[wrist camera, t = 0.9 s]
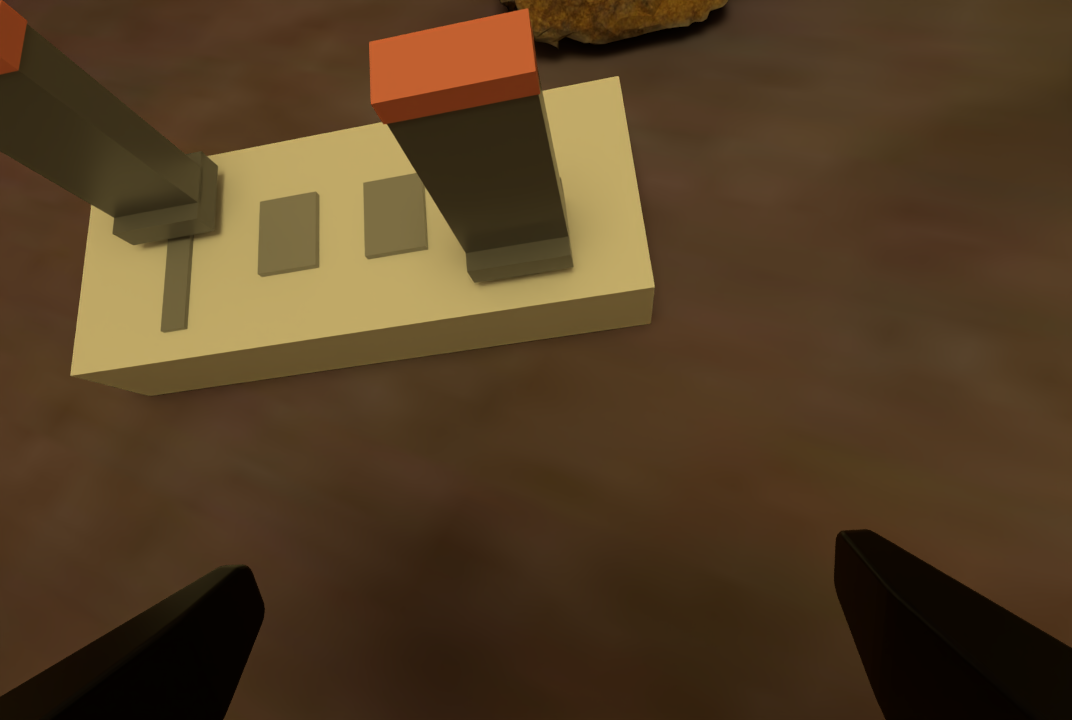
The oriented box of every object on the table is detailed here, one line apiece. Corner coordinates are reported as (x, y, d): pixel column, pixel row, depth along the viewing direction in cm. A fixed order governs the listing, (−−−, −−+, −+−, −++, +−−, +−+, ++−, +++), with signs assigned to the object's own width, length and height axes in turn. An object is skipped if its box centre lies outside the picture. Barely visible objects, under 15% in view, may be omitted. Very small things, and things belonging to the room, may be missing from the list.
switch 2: (575, 267, 21) (539, 96, 12) (472, 282, 21) (371, 129, 13) (565, 192, 21) (525, -15, 13) (467, 209, 22) (368, 19, 14)
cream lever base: (650, 323, 24) (655, 284, 20) (149, 396, 27) (63, 374, 23) (620, 139, 27) (618, 70, 23) (164, 222, 29) (88, 174, 25)
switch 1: (215, 230, 23) (-12, 71, 15) (131, 245, 24) (-135, 98, 15) (219, 165, 24) (5, -20, 16) (138, 181, 25) (-112, 9, 16)
